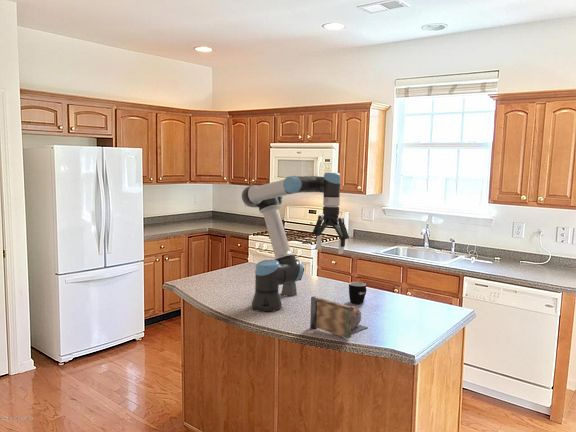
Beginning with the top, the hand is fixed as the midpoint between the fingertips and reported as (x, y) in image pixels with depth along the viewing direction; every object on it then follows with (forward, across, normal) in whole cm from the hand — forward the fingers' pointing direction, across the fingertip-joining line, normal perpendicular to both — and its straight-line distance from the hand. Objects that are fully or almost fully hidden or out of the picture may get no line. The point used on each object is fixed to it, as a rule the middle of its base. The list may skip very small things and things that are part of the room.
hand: (329, 251), depth 218 cm
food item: (+31, +16, -5) cm, 36 cm away
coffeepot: (+32, -40, +15) cm, 53 cm away
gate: (+31, +17, -16) cm, 38 cm away
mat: (+32, +16, -5) cm, 36 cm away
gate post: (+32, +6, -16) cm, 36 cm away
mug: (+32, -6, +32) cm, 46 cm away
